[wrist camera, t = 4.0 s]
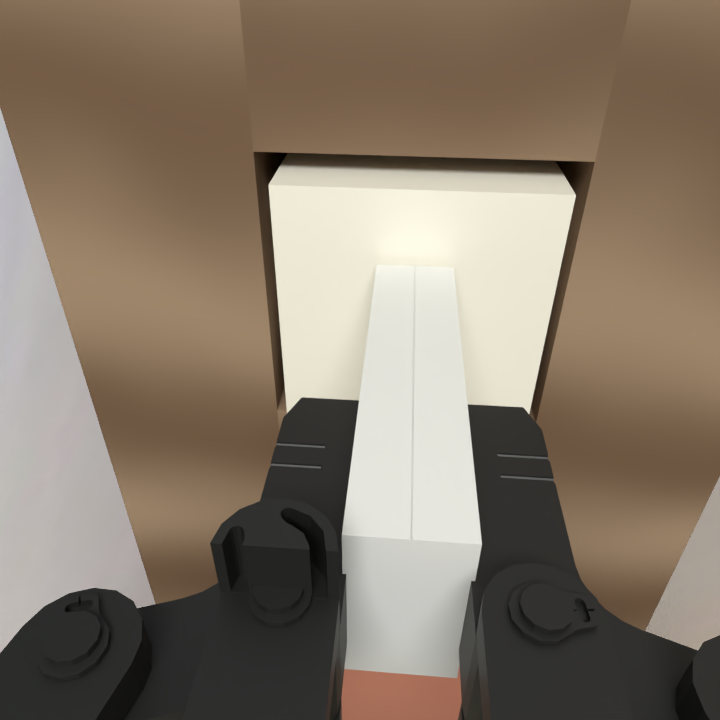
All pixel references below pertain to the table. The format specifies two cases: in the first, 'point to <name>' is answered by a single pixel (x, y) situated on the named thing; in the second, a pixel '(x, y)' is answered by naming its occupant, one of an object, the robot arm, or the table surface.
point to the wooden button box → (388, 138)
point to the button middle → (399, 696)
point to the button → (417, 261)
